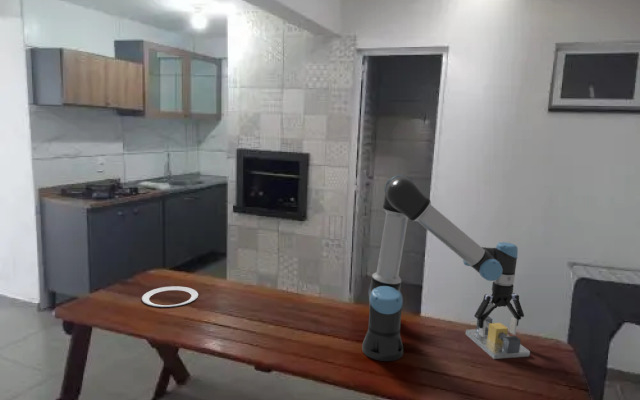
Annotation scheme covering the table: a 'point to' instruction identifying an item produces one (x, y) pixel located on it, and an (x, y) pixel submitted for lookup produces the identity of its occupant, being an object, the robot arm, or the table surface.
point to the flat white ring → (150, 293)
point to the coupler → (497, 332)
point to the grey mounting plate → (500, 350)
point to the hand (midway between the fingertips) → (497, 334)
